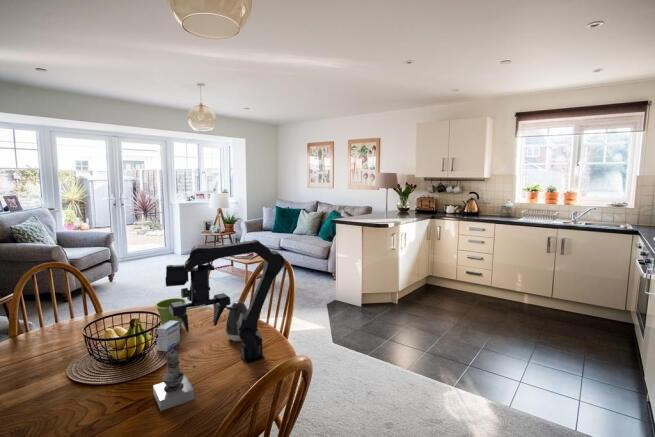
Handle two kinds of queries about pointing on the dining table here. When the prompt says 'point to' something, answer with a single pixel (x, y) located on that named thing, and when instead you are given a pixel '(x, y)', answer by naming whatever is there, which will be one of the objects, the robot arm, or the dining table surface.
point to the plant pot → (164, 310)
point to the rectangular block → (173, 395)
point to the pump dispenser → (234, 319)
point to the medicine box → (168, 335)
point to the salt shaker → (173, 373)
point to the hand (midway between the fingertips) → (201, 328)
